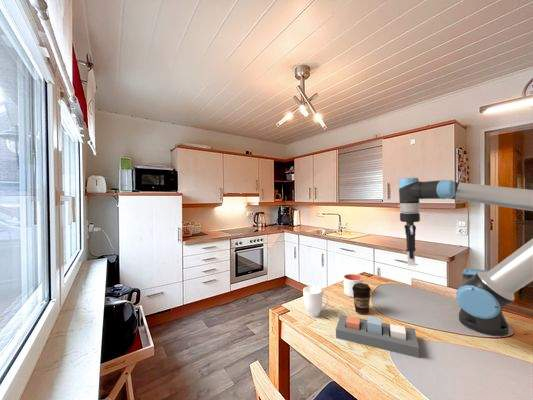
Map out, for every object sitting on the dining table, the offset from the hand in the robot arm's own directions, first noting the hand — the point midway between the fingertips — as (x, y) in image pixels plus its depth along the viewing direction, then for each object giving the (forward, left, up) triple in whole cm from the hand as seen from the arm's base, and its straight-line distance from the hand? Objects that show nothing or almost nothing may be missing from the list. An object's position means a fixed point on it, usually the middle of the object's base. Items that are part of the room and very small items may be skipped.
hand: (411, 265), depth 101 cm
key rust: (+23, +21, -24) cm, 39 cm away
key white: (+7, +21, -24) cm, 32 cm away
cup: (+27, -16, -25) cm, 40 cm away
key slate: (+15, +21, -22) cm, 34 cm away
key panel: (+15, +21, -24) cm, 36 cm away
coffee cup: (+21, +2, -25) cm, 32 cm away
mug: (+41, +12, -25) cm, 49 cm away
